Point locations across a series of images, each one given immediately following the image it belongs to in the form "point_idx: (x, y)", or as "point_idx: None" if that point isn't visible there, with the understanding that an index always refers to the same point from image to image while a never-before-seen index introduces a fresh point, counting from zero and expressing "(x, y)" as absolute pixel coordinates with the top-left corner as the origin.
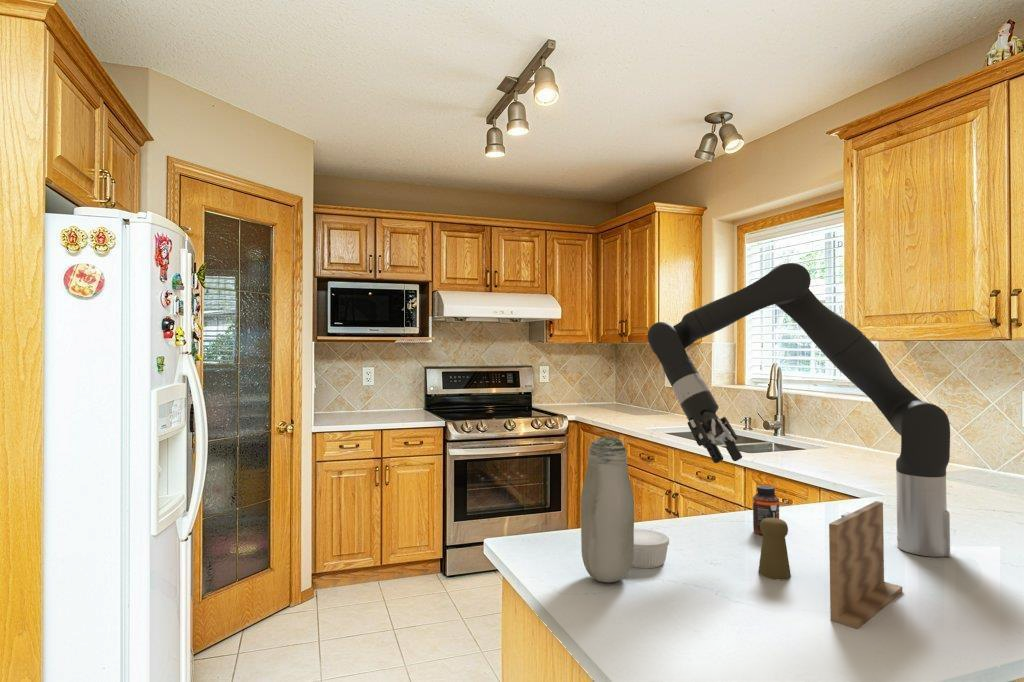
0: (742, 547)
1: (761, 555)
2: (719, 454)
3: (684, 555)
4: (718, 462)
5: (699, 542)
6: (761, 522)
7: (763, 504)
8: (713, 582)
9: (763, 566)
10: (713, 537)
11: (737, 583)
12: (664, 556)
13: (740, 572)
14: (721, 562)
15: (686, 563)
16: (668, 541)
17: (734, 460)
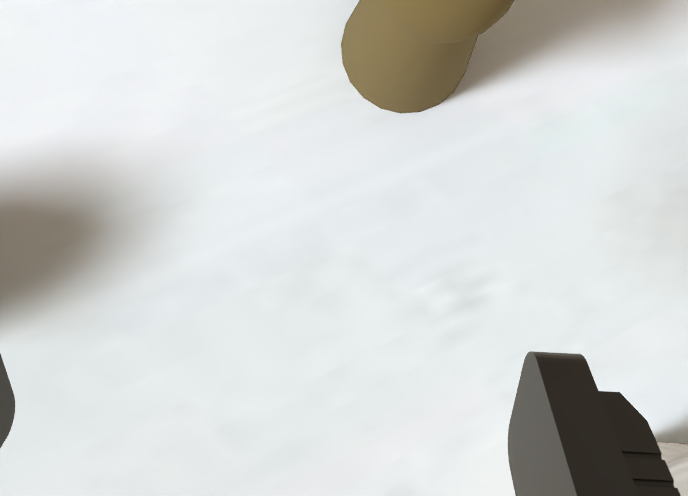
0: (163, 293)
1: (456, 68)
2: (604, 408)
3: (462, 439)
4: (516, 413)
5: (239, 482)
6: (495, 9)
7: None
8: (664, 195)
9: (467, 63)
10: (112, 470)
11: (608, 121)
12: (663, 446)
13: (487, 162)
14: (430, 274)
15: None
16: (676, 459)
17: (8, 409)
